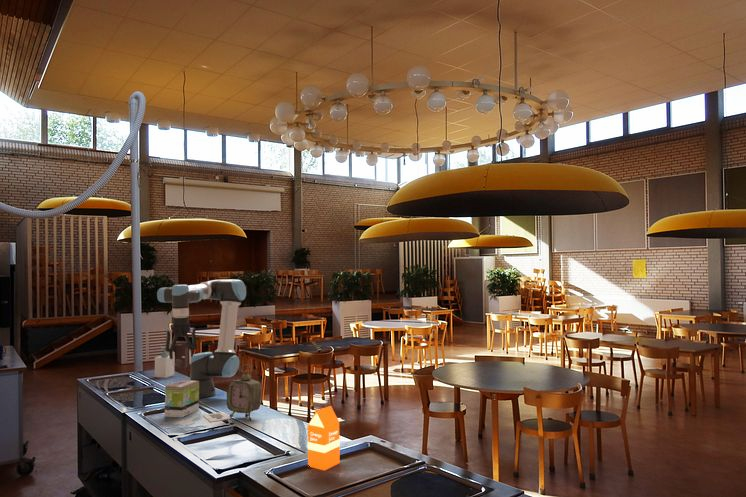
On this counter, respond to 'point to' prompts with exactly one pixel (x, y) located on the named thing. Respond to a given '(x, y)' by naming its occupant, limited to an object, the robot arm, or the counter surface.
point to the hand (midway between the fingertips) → (181, 364)
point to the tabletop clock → (244, 394)
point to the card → (217, 417)
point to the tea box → (181, 398)
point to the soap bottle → (163, 365)
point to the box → (181, 354)
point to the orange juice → (323, 439)
